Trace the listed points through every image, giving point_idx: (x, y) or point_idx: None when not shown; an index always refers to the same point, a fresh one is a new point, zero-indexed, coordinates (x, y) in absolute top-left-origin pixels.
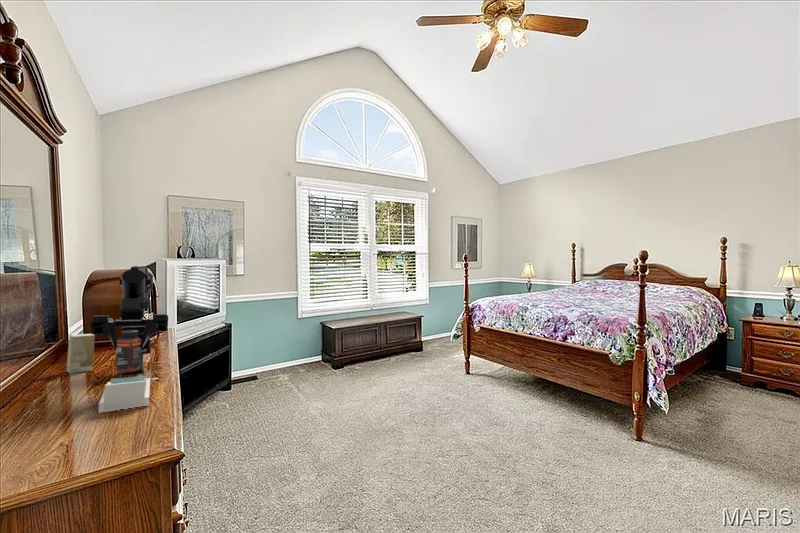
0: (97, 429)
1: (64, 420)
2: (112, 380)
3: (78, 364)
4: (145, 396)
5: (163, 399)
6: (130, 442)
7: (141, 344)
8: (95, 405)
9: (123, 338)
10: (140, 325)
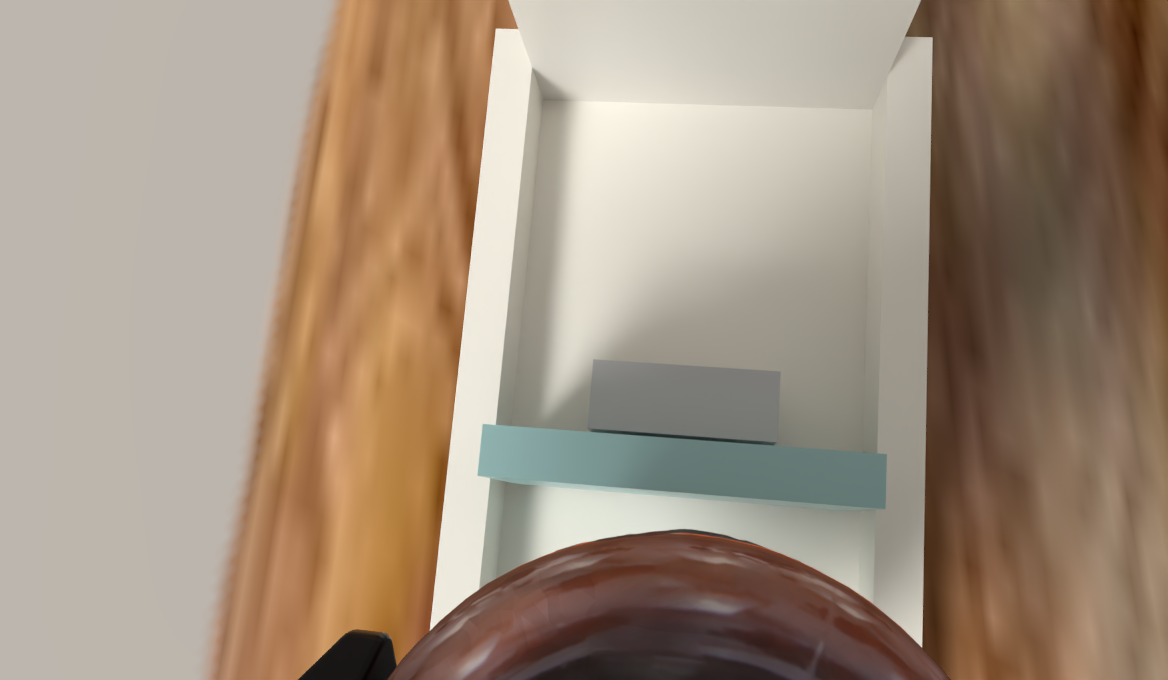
0: None
1: (1155, 11)
2: (863, 454)
3: None
4: (524, 64)
5: (375, 225)
6: None
7: (368, 654)
8: (957, 333)
9: None
10: None
